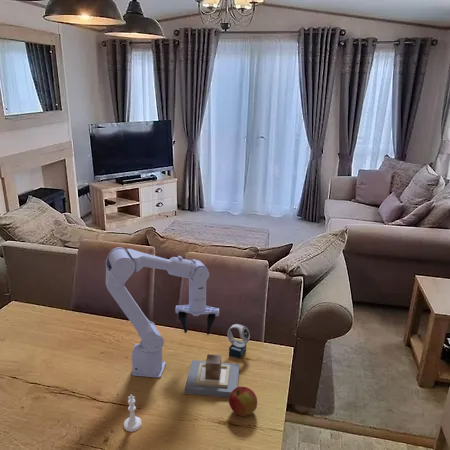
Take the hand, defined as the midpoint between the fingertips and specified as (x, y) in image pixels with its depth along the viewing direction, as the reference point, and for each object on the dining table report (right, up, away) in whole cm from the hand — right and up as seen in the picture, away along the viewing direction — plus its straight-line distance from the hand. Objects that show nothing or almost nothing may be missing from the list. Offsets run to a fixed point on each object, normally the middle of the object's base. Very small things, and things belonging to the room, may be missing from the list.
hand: (197, 332), depth 141 cm
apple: (+15, -18, -20) cm, 31 cm away
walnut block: (+6, -11, -8) cm, 15 cm away
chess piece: (-16, -19, -26) cm, 36 cm away
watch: (+14, -9, +7) cm, 18 cm away
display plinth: (+6, -14, -8) cm, 17 cm away
